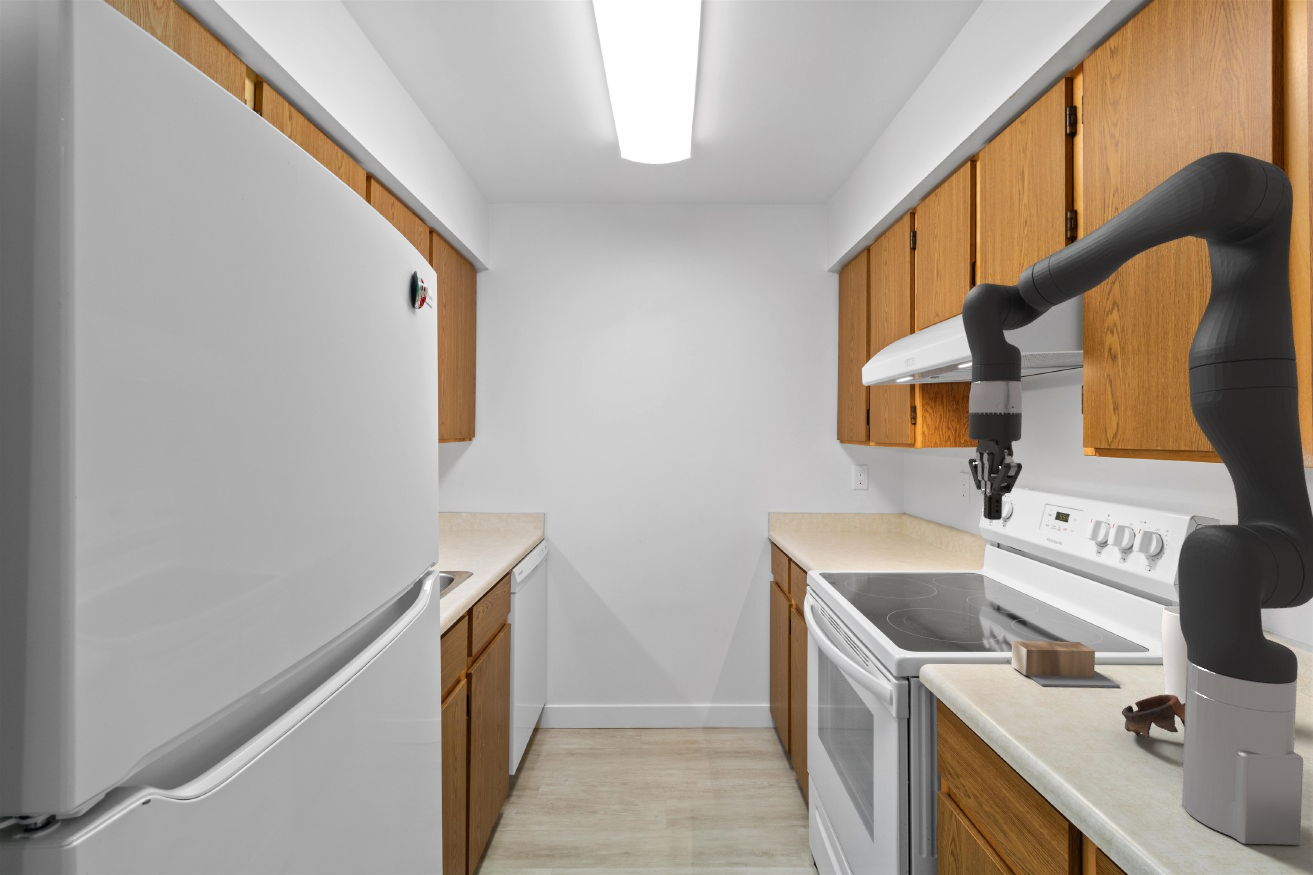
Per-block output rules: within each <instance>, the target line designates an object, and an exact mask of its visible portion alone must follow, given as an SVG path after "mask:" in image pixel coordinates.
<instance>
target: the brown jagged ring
mask: <svg viewBox="0 0 1313 875" xmlns="http://www.w3.org/2000/svg"><path fill="white" fill-rule="evenodd" d="M1134 704H1135V706H1136V708H1137V709H1136V710H1135V711H1134V708H1133V705H1130V704H1129V705H1127V706H1126V707H1124V708H1123V709H1122V710H1121V715H1122V716H1123V717H1124V718H1125V722H1124V729H1125V731H1127V732H1128V733H1134V735H1136V736H1140V734H1143V736H1145V737H1146V738H1149V739H1150V730H1151V727H1152V724H1154V725H1155V726H1156V727H1157V728H1159V729H1162V730H1165V731H1167V732H1169V733H1178V732H1179V730H1178V728H1177V726H1176V720H1175V719H1176V717H1177V718H1179V720H1180V721H1181V723H1182V725H1183V728H1184V727H1185V703H1184V704H1181V702H1180V701H1179V699H1178V697H1177V696H1175V695H1168V694H1166V695H1164V694H1158V695H1155V696H1150V697H1147V698H1144V699H1141V700H1138V701H1136V702H1134Z"/></svg>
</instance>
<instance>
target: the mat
mask: <svg viewBox="0 0 1313 875" xmlns="http://www.w3.org/2000/svg"><path fill="white" fill-rule="evenodd" d="M1006 662H1008V663H1009V664H1010V665H1011V662H1012V660H1009V659H1007V661H1006ZM1026 676H1027V677H1028V678H1029V679H1031V680H1033V681H1034V682H1035V683H1037V684H1038V685H1040V686H1041V687H1056V688H1057V687H1062V688H1114V689H1115V688H1118V689H1119V688H1121V685H1120V684H1118V683H1117V682H1115V681H1114V680H1112V679H1110V678H1109V677H1107V676H1105V675H1103V674H1102V673H1100V672H1098V671H1097V670H1095V671H1094V676H1040V675H1026Z"/></svg>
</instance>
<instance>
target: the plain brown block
mask: <svg viewBox="0 0 1313 875" xmlns="http://www.w3.org/2000/svg"><path fill="white" fill-rule="evenodd" d="M1011 658H1012V662H1011V664H1010V665H1011V667H1013V668H1014V669H1016V670H1017V671H1018V672H1020V674H1023V675H1024V676H1027V675H1040V676H1094V671H1096V670H1095V666H1096V650H1094V649H1092V648H1091V647H1088V645H1085V644H1083V643H1081V642H1079V641H1034V640H1033V641H1032V640H1029V641H1027V640H1025V641H1024V640H1011Z"/></svg>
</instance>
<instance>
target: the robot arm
mask: <svg viewBox="0 0 1313 875" xmlns="http://www.w3.org/2000/svg"><path fill="white" fill-rule="evenodd" d="M1293 194H1294V190H1293V185H1292V183H1291V180H1290V177H1289V176H1288V174H1287V173H1285V171H1284V170H1283V169H1282V168H1280V167H1279V166H1277V165H1275V164H1274V163H1272V162H1269V161H1266V160H1263V159H1259V158H1257V157H1252V156H1250V155H1246V154H1243V153H1239V152H1228V151H1226V152H1225V151H1222V152H1221V151H1220V152H1214V153H1210V154H1207V155H1204V156H1202V157H1199V158H1197V159H1195V160H1194V161H1192V162H1191V163H1189V164H1187V165H1186V166H1184V167H1183V168H1181V169H1179V170H1177V172H1175V173H1174V174H1172V175H1171V176H1169V177H1168V178H1166V179H1165V180H1164V181H1162V182H1161V183H1159V184H1157V186H1156V187H1154V188H1153V189H1151V190H1150V191H1149V192H1147V193H1146V194H1145V195H1143V196H1142V197H1140V198H1139V199H1138V200H1136V201H1135V202H1133V203H1132V204H1130V205H1129V206H1128V207H1126V208H1125V209H1123V210H1122V211H1120V212H1119V213H1118V214H1117V215H1115V216H1113V217H1112V218H1110V219H1109V220H1108V221H1106V222H1105V223H1103V224H1102V225H1101V226H1099V227H1097V228H1096V229H1094V230H1092V231H1091V232H1090V233H1087V234H1086V235H1085V236H1082V237H1081V238H1080V239H1077V240H1075V241H1074V242H1073V243H1070V244H1069V245H1067V246H1065V247H1063V248H1061V249H1059V250H1057V251H1055V252H1053V253H1051V254H1049V255H1047V256H1045V257H1044V258H1042V259H1040V260H1038V261H1036V262H1034V263H1033V264H1031V265H1029V266H1028V267H1026V268H1025V269H1024V270H1023V271H1022V272H1021V274H1020V275H1019V277H1018V283H1016V284H1014V285H1007V284H1006V285H1005V284H999V283H998V284H997V283H991V282H989V283H987V282H986V283H985V282H984V283H981V284H977V285H975V286H973V288H971V289H970V290H969V292H967V295H966V296H965V298H964V301H963V304H962V309H961V317H962V324H963V328H964V333H965V336H966V340H967V343H968V344H967V345H968V348H969V351H970V355H971V383H970V384H971V385H970V392H969V397H968V398H969V401H968V439H969V440H970V441H977V445H976V449H975V457H974V458H968V465H969V466H968V467H969V469H970V473H971V475H972V479H973V482H974V485H975V488H976V490H979V491H980V493H981V495H983V518H984V519H986V520H991V521H999V520H1001V519H1002V517H1003V516H1002V514H1003V497H1005V495H1006V494H1011V492H1012V490H1013V488H1014V486H1015V484H1016V482H1017V480H1018V478H1019V476H1020V474H1021V472H1022V469H1023V464H1022V463H1021V462H1015V461H1014V459H1013V457H1014V449H1013V445H1012V444H1013V442H1018V441H1020V440H1021V439H1022V427H1023V426H1022V424H1023V423H1022V420H1023V392H1022V383H1021V381H1022V353H1021V352H1022V351H1021V350H1020V348H1019V347H1018V346H1016V345H1014V344H1012V343H1010V342H1008V340H1006V336H1005V333H1004V331H1006V332H1007V331H1014V330H1018V329H1020V328H1023V327H1026V326H1028V325H1030V324H1031V323H1033V322H1035V321H1036V320H1038V319H1039V318H1040V317H1041V316H1043V315H1044V314H1046V313H1047V312H1048V311H1049V310H1051V309H1052V308H1053V307H1055V306H1058V305H1061V304H1063V303H1065V302H1067V301H1069V300H1072V299H1074V298H1077V297H1078V296H1080V295H1083V294H1086V293H1087V292H1090V291H1091V290H1092V289H1095V288H1096V287H1098V286H1099V285H1101V284H1103V283H1104V282H1106V281H1107V280H1108V279H1109V278H1111V277H1112V275H1113V274H1115V273H1116V271H1118V270H1119V269H1120V268H1121V267H1122V266H1124V265H1125V264H1126V263H1127V262H1129V261H1130V260H1131V259H1133V258H1135V257H1136V256H1138V255H1140V254H1141V253H1144V252H1146V251H1148V250H1150V249H1153V248H1155V247H1158V246H1161V245H1163V244H1166V243H1170V242H1172V241H1177V240H1178V239H1183V238H1186V237H1193V238H1196V239H1201V240H1205V241H1206V245H1207V250H1208V256H1209V257H1208V258H1209V266H1210V277H1211V281H1210V284H1211V285H1210V286H1211V287H1210V294H1209V298H1208V303H1207V305H1206V307H1205V310H1204V312H1203V315H1202V316H1201V319H1200V321H1199V324H1198V326H1197V328H1196V331H1195V334H1194V335H1193V338H1192V342H1191V345H1190V349H1189V352H1188V364H1187V366H1188V367H1187V369H1188V381H1189V382H1188V385H1189V388H1188V389H1189V400H1190V401H1189V402H1190V408H1191V411H1192V414H1193V417H1194V419H1195V421H1196V424H1197V425H1198V426H1199V427H1198V428H1199V429H1200V430H1201V432H1202V433H1203V435H1204V436H1205V438H1206V439H1207V441H1208V442H1209V443H1210V445H1211V447H1212V448H1213V449H1214V451H1215V452H1216V454H1217V455H1218V456H1219V458H1220V459H1221V461H1222V463H1223V464H1224V465H1225V467H1226V469H1227V471H1228V473H1229V475H1230V477H1231V478H1230V479H1231V481H1232V484H1233V487H1234V491H1235V499H1236V507H1237V524H1211V525H1204V526H1200V527H1198V528H1195V529H1194V530H1193V531H1191V532H1190V533H1189V534H1188V535H1187V536H1186V537H1185V539H1184V541H1183V543H1182V545H1181V548H1180V550H1179V556H1178V565H1177V568H1178V569H1177V573H1178V574H1177V575H1178V577H1177V581H1178V604H1179V605H1178V607H1179V617H1180V626H1181V631H1182V634H1183V636H1184V639H1185V642H1186V645H1187V672H1186V697H1185V727H1184V726H1183V729H1184V733H1183V762H1182V764H1183V766H1182V768H1183V769H1182V797H1181V798H1182V799H1181V801H1182V802H1181V803H1182V806H1183V809H1184V810H1185V811H1186V812H1187V813H1188V814H1189V815H1190V816H1191V817H1193V818H1194V819H1195V820H1197V821H1199V823H1201V824H1203V825H1205V826H1207V827H1209V828H1211V829H1213V830H1215V831H1217V832H1220V833H1222V834H1225V835H1227V836H1230V837H1232V838H1234V839H1235V840H1237V841H1238V842H1240V843H1241V844H1245V845H1247V844H1249V845H1252V844H1253V845H1258V844H1259V845H1289V846H1290V845H1291V846H1292V845H1294V846H1297V845H1298V846H1299V845H1301V828H1302V802H1303V799H1302V798H1303V777H1304V774H1303V773H1304V758H1303V757H1302V755H1301V754H1299V753H1296V752H1295V738H1296V737H1295V735H1296V711H1297V710H1296V709H1297V692H1298V691H1297V688H1298V687H1297V683H1298V668H1299V666H1298V665H1299V664H1298V659H1297V655H1296V653H1295V652H1294V651H1293V650H1292V649H1290V648H1289V647H1287V646H1285V645H1283V644H1281V643H1279V642H1276V641H1273V640H1272V639H1268V638H1266V636H1265V635H1264V631H1263V621H1262V619H1263V618H1262V610H1263V609H1264V610H1268V609H1269V610H1270V609H1271V610H1272V609H1290V608H1291V609H1292V608H1297V607H1300V606H1302V605H1305V604H1307V603H1309V602H1310V601H1311V600H1312V599H1313V510H1312V506H1311V501H1310V495H1309V491H1308V486H1307V480H1306V472H1305V464H1304V452H1303V443H1302V434H1301V424H1300V415H1299V412H1300V411H1299V379H1298V365H1297V364H1298V362H1297V354H1296V346H1295V339H1294V326H1293V323H1294V322H1293V308H1292V298H1291V288H1290V274H1289V272H1290V270H1289V269H1290V268H1289V267H1290V264H1289V263H1290V252H1291V251H1290V248H1291V235H1292V222H1293V210H1294V195H1293Z"/></svg>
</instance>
